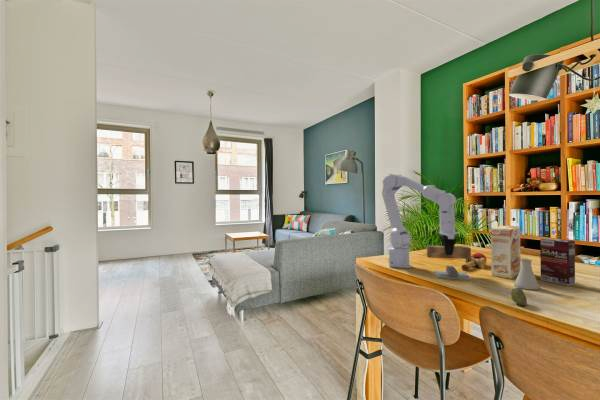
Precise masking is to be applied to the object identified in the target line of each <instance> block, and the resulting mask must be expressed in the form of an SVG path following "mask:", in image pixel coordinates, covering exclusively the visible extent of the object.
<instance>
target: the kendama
mask: <svg viewBox="0 0 600 400" xmlns="http://www.w3.org/2000/svg"><path fill="white" fill-rule="evenodd" d="M486 263H487V256H486V255H484V253H481V252H476V253H474V254H471V259H465V263H464V264H462V265H461V269H462V271H464V272H469V270H471V269H472V267H474V266H477V267H478V268H479V269H484V268H485V266H486Z"/></svg>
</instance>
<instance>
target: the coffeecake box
mask: <svg viewBox="0 0 600 400" xmlns="http://www.w3.org/2000/svg"><path fill="white" fill-rule="evenodd" d="M490 252H491V253H490V255H491V256H490V259H491V260H490V261H491V263H490V264H491V266H490V267H491V276H492V277H493V276H494V277H499V278H504V279H509V280H510V279H511V280H512V279H513V278H515V277H516V276H518V274H519V272H520V269H521V260H520V259H521V226H517V225H500V226H495V227H491V228H490Z"/></svg>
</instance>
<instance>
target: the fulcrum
mask: <svg viewBox="0 0 600 400" xmlns="http://www.w3.org/2000/svg"><path fill="white" fill-rule="evenodd" d="M445 267H446V268H445V270H446V271H445V270H434V271H433V273H434V274H435V277H436V278H437V279H445V280H446V279H447V280H460V281H461V280H462V281H464V280H465V281H472V280H473V279H472V277H471V276H469V274H468V273H467V272H460V271H458V270H457V269H456V268H455V267H454V266H453V265H446V266H445Z"/></svg>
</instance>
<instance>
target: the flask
mask: <svg viewBox="0 0 600 400" xmlns="http://www.w3.org/2000/svg"><path fill="white" fill-rule="evenodd" d="M532 261H533V259H531V258H521V257H520V262H521V269H520V272H519V274H517V277H516V279H515V282H514V284H513V286H515V288H521V289H522V290H523V289H524V290H531V291H539V290H540V288H541V287H540V285H539V282H538V281H537V278H536V276H535V273H534V272H533V268H532Z"/></svg>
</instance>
